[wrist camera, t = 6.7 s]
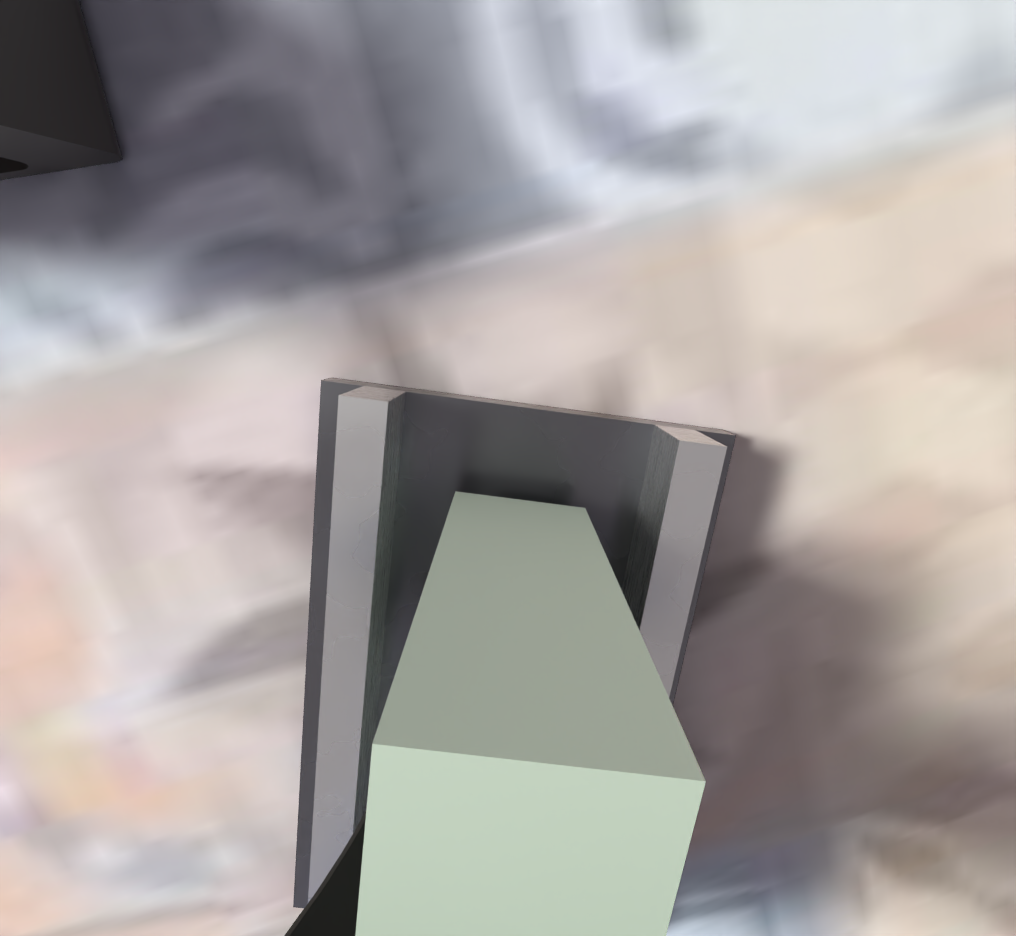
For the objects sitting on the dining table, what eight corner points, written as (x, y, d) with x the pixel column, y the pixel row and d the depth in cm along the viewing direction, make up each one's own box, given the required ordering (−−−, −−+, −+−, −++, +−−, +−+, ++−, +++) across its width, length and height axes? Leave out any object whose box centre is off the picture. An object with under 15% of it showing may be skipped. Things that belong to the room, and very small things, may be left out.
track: (723, 430, 14) (774, 453, 11) (613, 913, 18) (631, 1018, 15) (331, 377, 14) (288, 388, 11) (303, 881, 18) (265, 981, 15)
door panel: (514, 912, 16) (521, 1490, 8) (408, 901, 15) (308, 1473, 8) (585, 508, 13) (706, 782, 5) (455, 491, 13) (371, 743, 5)
